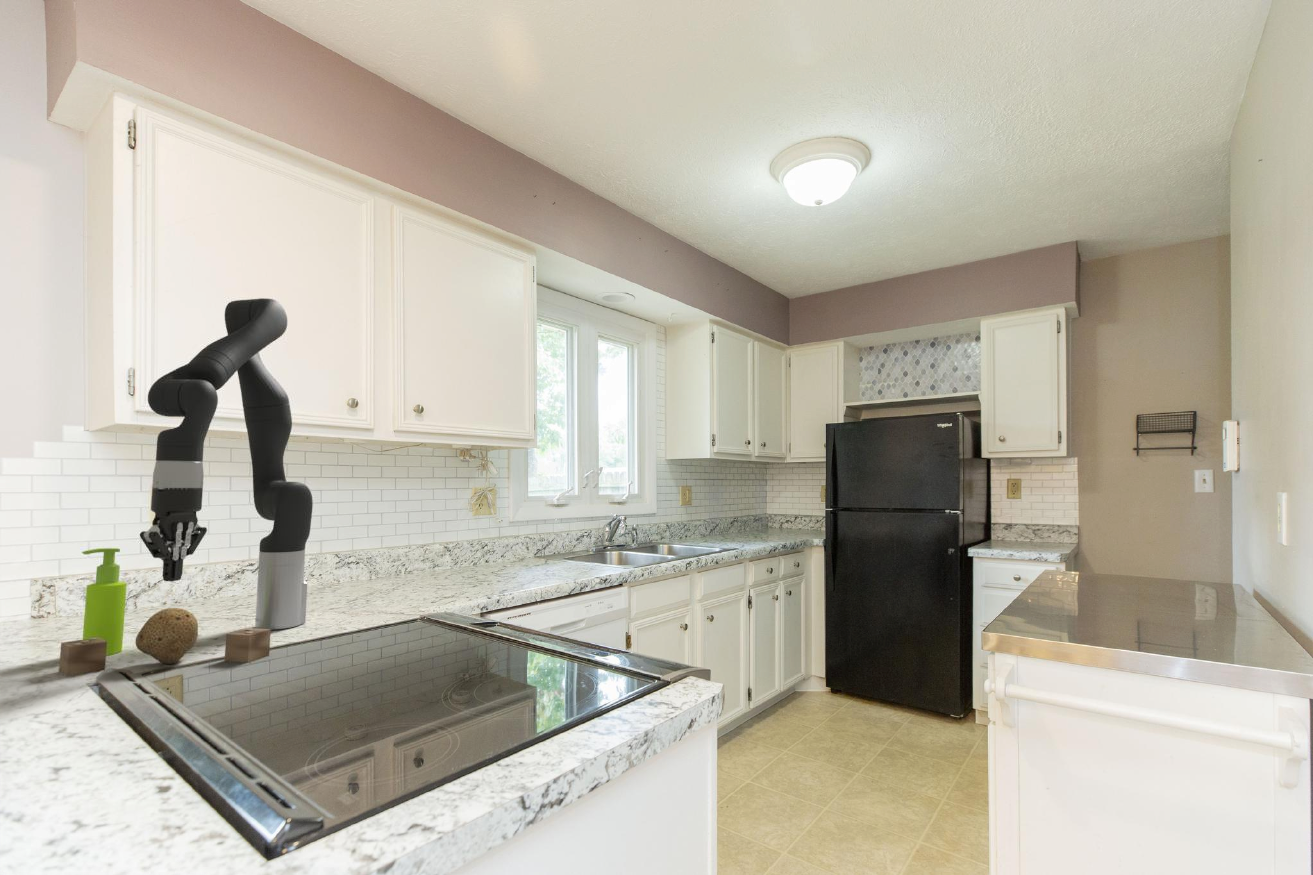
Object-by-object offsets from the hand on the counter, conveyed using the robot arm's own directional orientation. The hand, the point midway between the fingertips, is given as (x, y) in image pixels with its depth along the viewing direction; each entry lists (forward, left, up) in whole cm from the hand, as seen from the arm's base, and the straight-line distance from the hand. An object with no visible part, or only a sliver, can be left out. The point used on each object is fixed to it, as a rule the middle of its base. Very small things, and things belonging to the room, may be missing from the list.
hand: (172, 580), depth 116 cm
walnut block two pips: (-9, +9, -15) cm, 20 cm away
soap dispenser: (+2, -19, -15) cm, 24 cm away
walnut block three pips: (+9, -8, -15) cm, 19 cm away
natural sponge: (0, 0, -15) cm, 15 cm away
